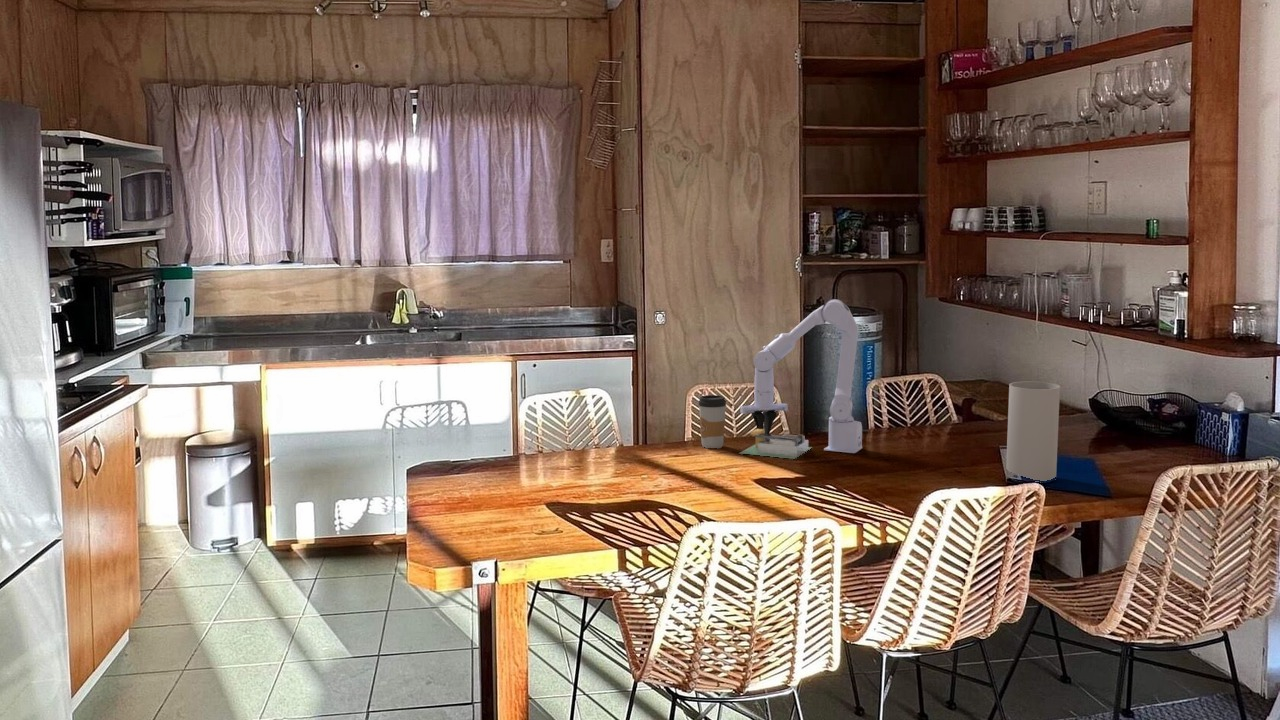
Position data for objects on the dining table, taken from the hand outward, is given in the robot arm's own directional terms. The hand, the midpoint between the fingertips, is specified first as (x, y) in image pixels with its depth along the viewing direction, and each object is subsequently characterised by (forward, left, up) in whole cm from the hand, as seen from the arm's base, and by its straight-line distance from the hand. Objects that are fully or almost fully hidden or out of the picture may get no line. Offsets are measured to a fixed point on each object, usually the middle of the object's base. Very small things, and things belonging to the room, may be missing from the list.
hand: (763, 435), depth 347 cm
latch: (0, +5, -3) cm, 6 cm away
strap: (-6, +5, 0) cm, 8 cm away
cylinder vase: (-78, +8, -3) cm, 78 cm away
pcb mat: (-6, +4, -3) cm, 8 cm away
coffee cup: (+14, +6, -3) cm, 16 cm away
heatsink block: (-8, +5, -3) cm, 10 cm away
